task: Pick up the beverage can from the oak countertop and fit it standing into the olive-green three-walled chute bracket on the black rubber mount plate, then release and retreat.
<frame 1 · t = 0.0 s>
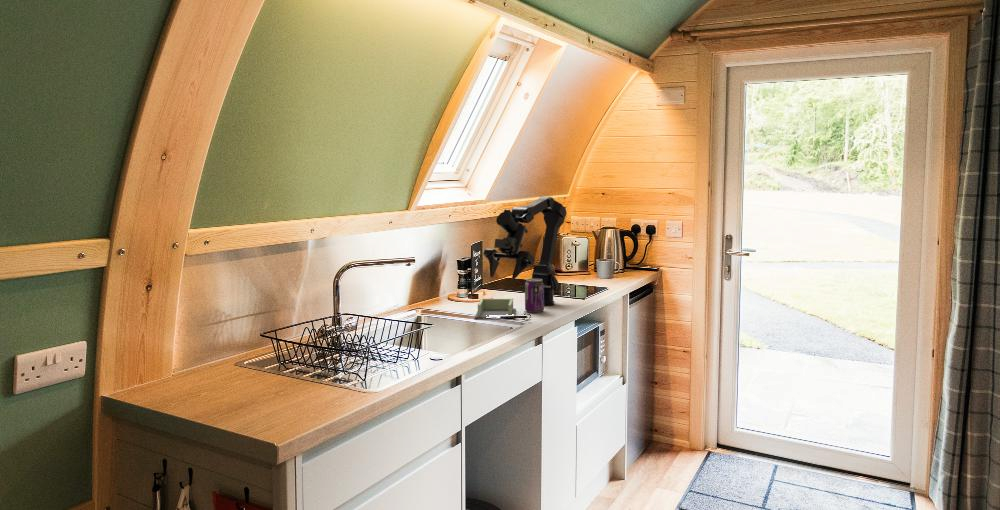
hand: (502, 277, 276), 15 cm above the worktop, tool tilted 35°, fingers open, 9 cm apart
beverage can: (534, 312, 291), on the worktop
chute bracket: (495, 314, 286), on the worktop
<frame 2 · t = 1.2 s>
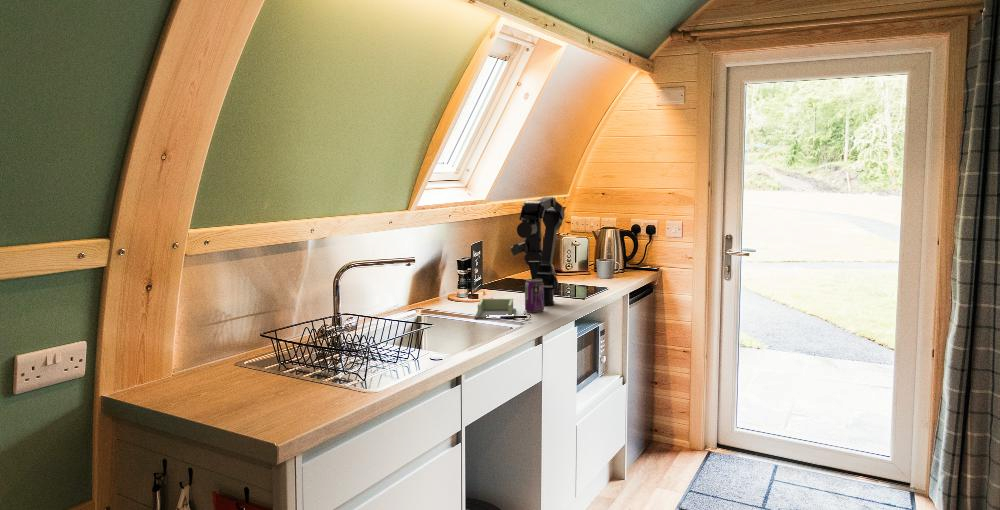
hand: (533, 277, 289), 13 cm above the worktop, tool pointing down, fingers open, 9 cm apart
nothing on the worktop moved.
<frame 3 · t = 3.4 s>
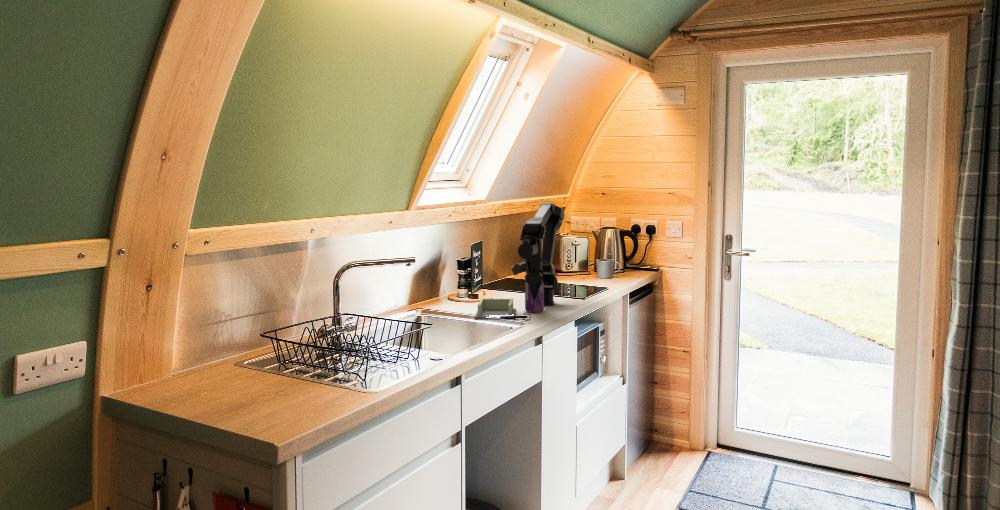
hand: (534, 296, 290), 6 cm above the worktop, tool pointing down, fingers closed on beverage can, 7 cm apart
beverage can: (534, 311, 291), on the worktop, touching gripper
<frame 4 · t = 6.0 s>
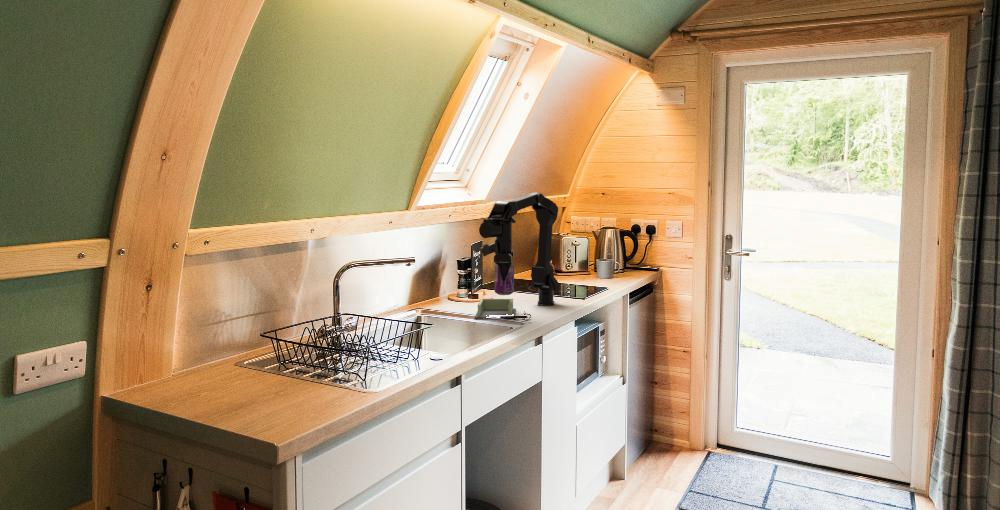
hand: (504, 278, 284), 13 cm above the worktop, tool pointing down, fingers closed on beverage can, 7 cm apart
beverage can: (504, 294, 285), point 7 cm above the worktop, touching gripper
when the fingers open (8 cm above the worktop, at t = 8.5 s): beverage can stays where it is, resting on chute bracket.
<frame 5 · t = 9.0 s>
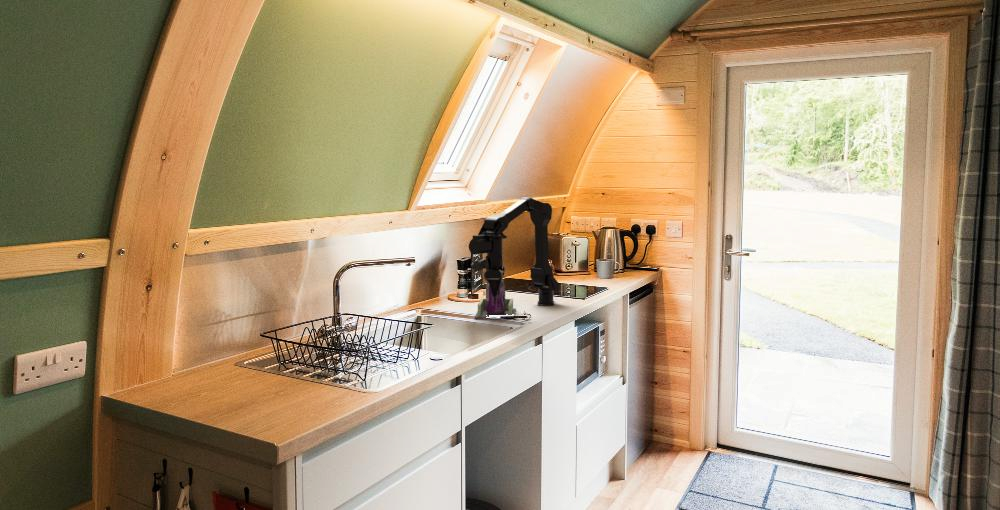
hand: (495, 294, 284), 8 cm above the worktop, tool pointing down, fingers open, 9 cm apart
beverage can: (495, 313, 285), point 1 cm above the worktop, touching chute bracket
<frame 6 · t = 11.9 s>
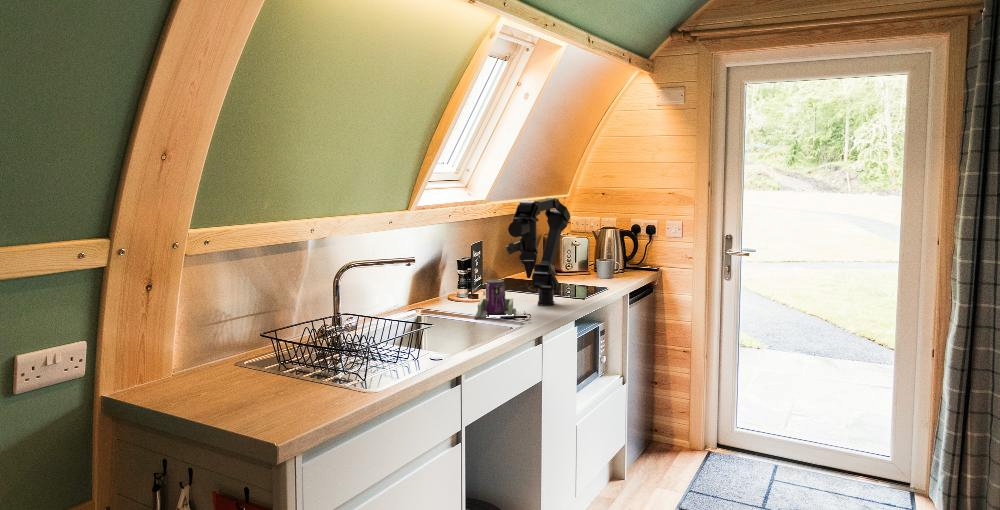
hand: (529, 276, 291), 13 cm above the worktop, tool pointing down, fingers open, 9 cm apart
nothing on the worktop moved.
at the end: beverage can 0.4 cm off-centre on the chute bracket, point 0.6 cm above the chute bracket's base; beverage can tilted 0°; the gripper is holding nothing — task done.
